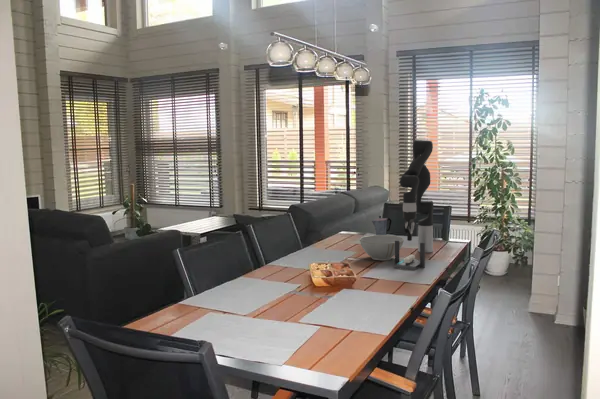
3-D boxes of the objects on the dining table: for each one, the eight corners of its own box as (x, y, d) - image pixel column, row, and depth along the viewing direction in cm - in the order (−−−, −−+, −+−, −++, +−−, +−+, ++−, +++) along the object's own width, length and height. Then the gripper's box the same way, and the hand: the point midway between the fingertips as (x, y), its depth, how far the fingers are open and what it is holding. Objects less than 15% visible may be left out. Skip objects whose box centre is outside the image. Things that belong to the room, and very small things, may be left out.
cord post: (420, 266, 292) (420, 242, 291) (425, 267, 291) (425, 242, 290) (419, 267, 290) (419, 243, 289) (423, 268, 289) (423, 243, 287)
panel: (404, 262, 304) (404, 257, 304) (424, 264, 298) (424, 259, 298) (394, 267, 291) (394, 263, 291) (415, 270, 285) (415, 265, 284)
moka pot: (368, 243, 362) (368, 215, 359) (387, 241, 368) (387, 213, 366) (376, 246, 353) (376, 217, 351) (395, 243, 359) (394, 215, 357)
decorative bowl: (403, 263, 300) (403, 243, 299) (357, 262, 306) (357, 242, 304) (403, 253, 326) (403, 235, 325) (361, 253, 332) (361, 234, 331)
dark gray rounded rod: (395, 264, 300) (395, 240, 299) (400, 264, 299) (400, 240, 297) (394, 264, 298) (394, 241, 296) (398, 265, 297) (398, 241, 295)
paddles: (409, 258, 299) (409, 254, 299) (414, 259, 298) (414, 255, 297) (404, 262, 291) (404, 258, 291) (409, 262, 289) (409, 258, 289)
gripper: (407, 208, 299) (407, 238, 300) (399, 211, 287) (399, 242, 289) (419, 209, 295) (419, 239, 297) (412, 212, 284) (412, 243, 285)
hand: (409, 240), depth 293 cm, fingers closed
